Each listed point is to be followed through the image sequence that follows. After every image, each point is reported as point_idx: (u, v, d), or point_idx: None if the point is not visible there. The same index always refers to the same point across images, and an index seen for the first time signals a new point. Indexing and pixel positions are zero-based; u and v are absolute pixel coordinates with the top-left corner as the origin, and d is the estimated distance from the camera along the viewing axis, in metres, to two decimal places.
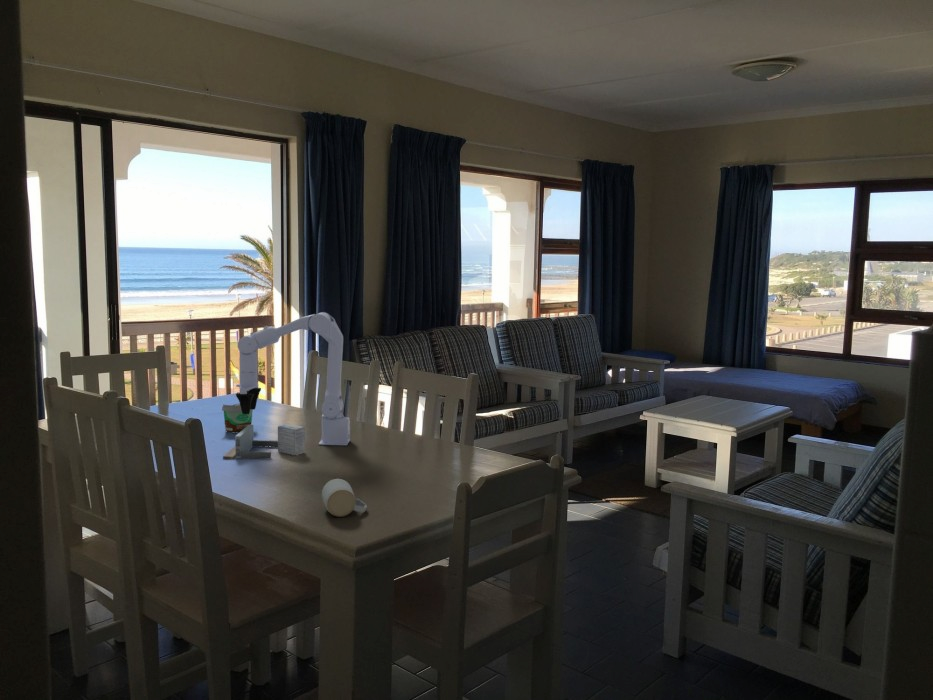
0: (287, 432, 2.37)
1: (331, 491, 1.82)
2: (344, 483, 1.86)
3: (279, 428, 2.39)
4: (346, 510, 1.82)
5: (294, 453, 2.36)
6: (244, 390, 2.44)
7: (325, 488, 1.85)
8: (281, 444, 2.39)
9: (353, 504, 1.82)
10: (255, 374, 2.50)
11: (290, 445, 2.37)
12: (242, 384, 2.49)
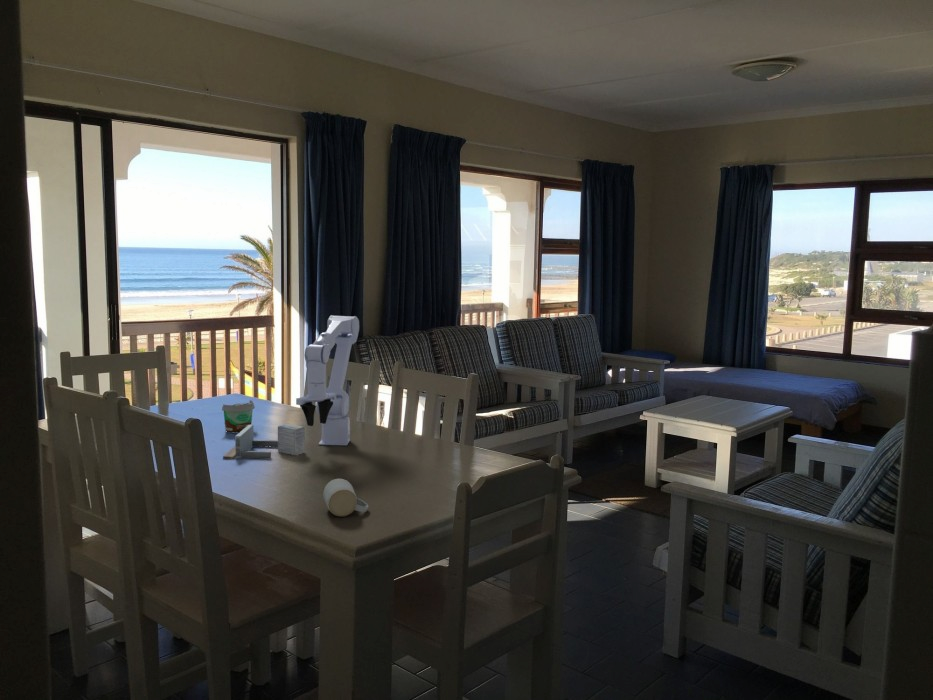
0: (287, 432, 2.37)
1: (333, 491, 1.82)
2: (346, 483, 1.86)
3: (279, 428, 2.39)
4: (347, 510, 1.82)
5: (294, 453, 2.36)
6: (299, 401, 2.32)
7: (327, 488, 1.85)
8: (281, 444, 2.39)
9: (355, 504, 1.83)
10: (318, 386, 2.35)
11: (290, 445, 2.37)
12: (307, 395, 2.37)
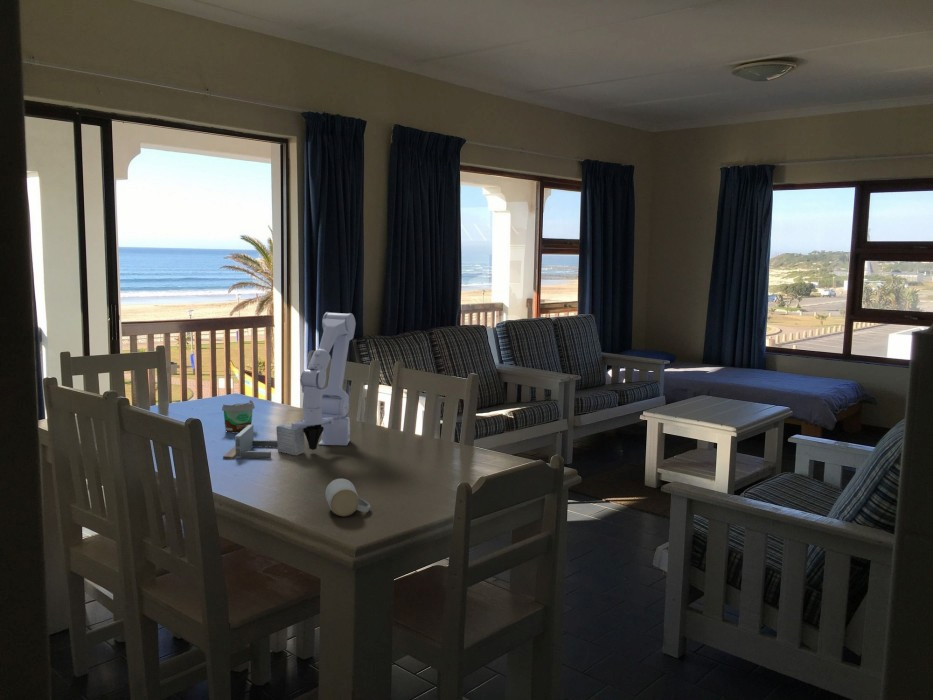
0: (286, 432, 2.37)
1: (335, 490, 1.82)
2: (347, 483, 1.86)
3: (278, 428, 2.38)
4: (349, 510, 1.82)
5: (294, 453, 2.36)
6: (293, 426, 2.34)
7: (329, 488, 1.86)
8: (281, 444, 2.39)
9: (356, 504, 1.83)
10: (314, 411, 2.36)
11: (289, 445, 2.37)
12: None
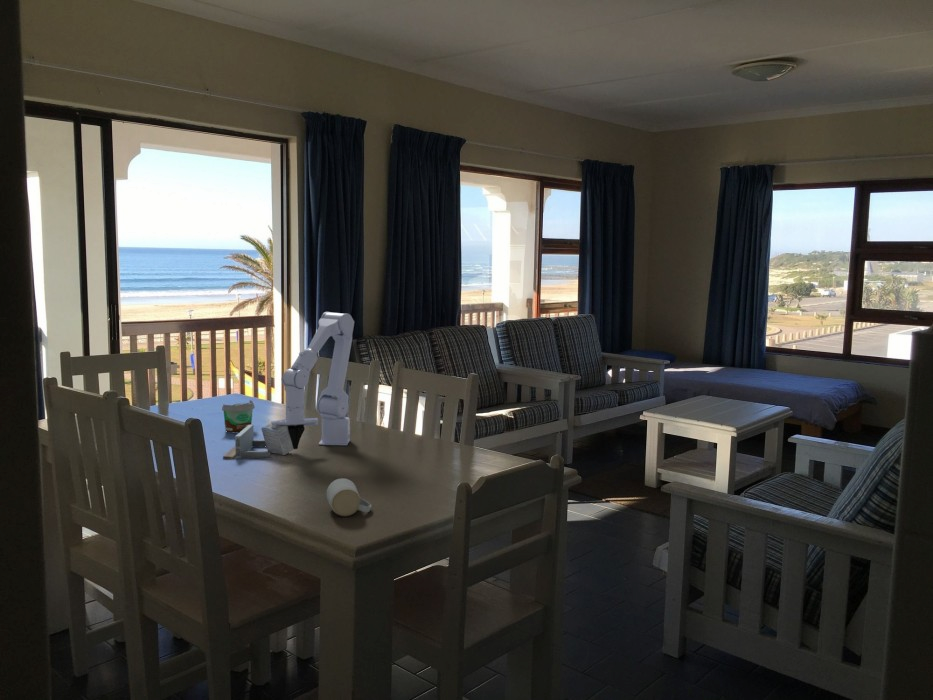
0: (271, 434, 2.35)
1: (336, 490, 1.82)
2: (349, 483, 1.86)
3: (263, 430, 2.37)
4: (351, 510, 1.82)
5: (282, 453, 2.36)
6: (272, 424, 2.35)
7: (330, 488, 1.86)
8: (269, 445, 2.38)
9: (358, 504, 1.83)
10: (293, 410, 2.36)
11: (276, 445, 2.36)
12: None
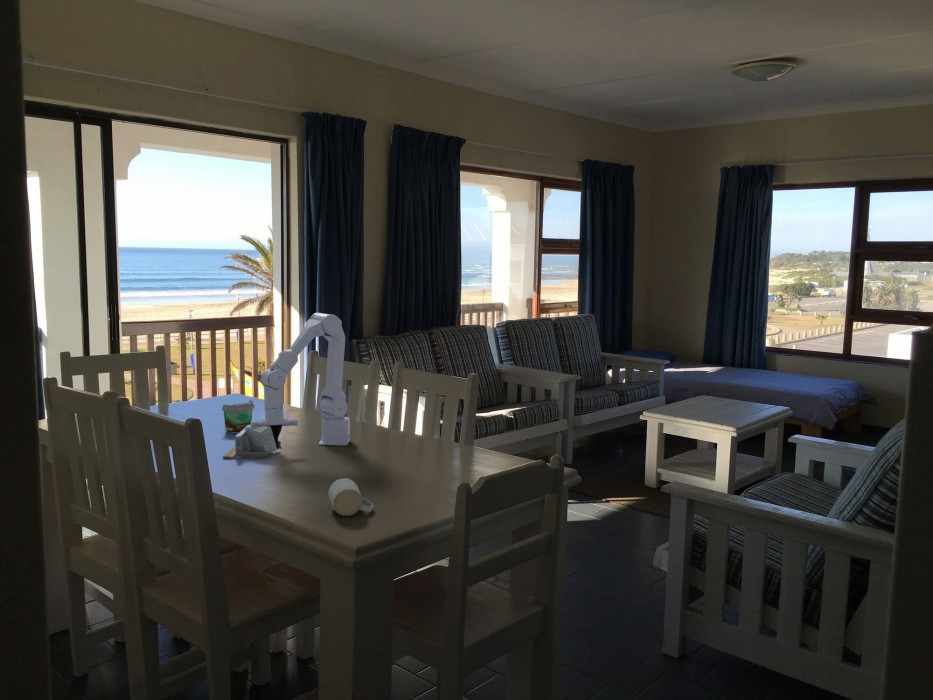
0: (254, 434, 2.35)
1: (338, 490, 1.82)
2: (351, 483, 1.86)
3: (246, 430, 2.36)
4: (352, 509, 1.83)
5: None
6: None
7: (332, 487, 1.86)
8: (252, 445, 2.38)
9: (360, 503, 1.83)
10: (269, 411, 2.36)
11: (259, 446, 2.35)
12: None
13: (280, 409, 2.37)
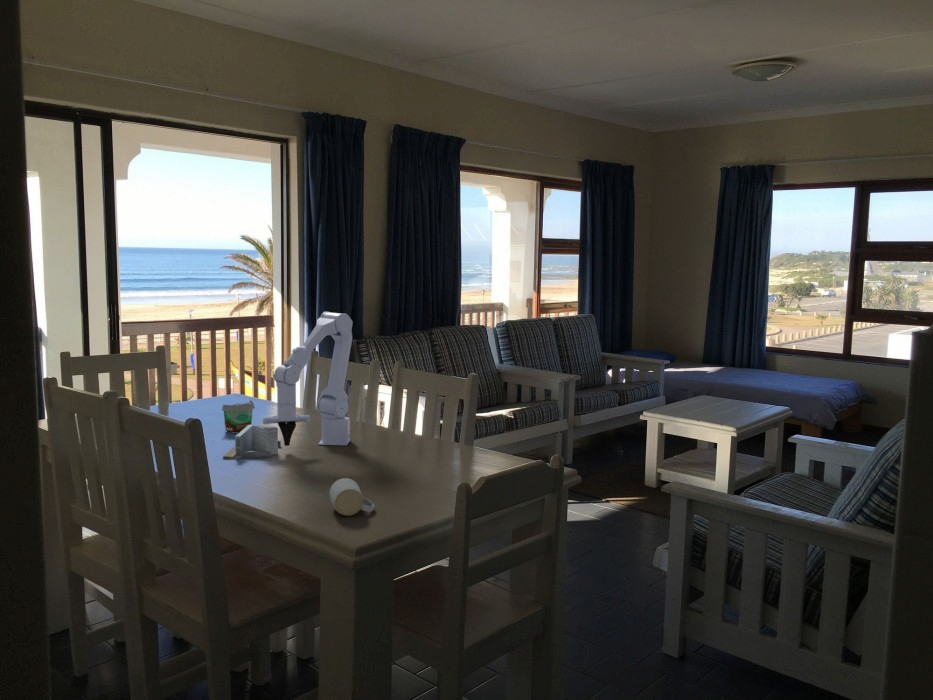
0: (260, 432, 2.36)
1: (339, 490, 1.82)
2: (352, 482, 1.87)
3: (253, 428, 2.38)
4: (353, 509, 1.83)
5: None
6: (263, 420, 2.36)
7: (333, 487, 1.86)
8: (255, 444, 2.38)
9: (361, 503, 1.83)
10: (283, 407, 2.35)
11: (262, 445, 2.36)
12: None
13: (294, 405, 2.37)
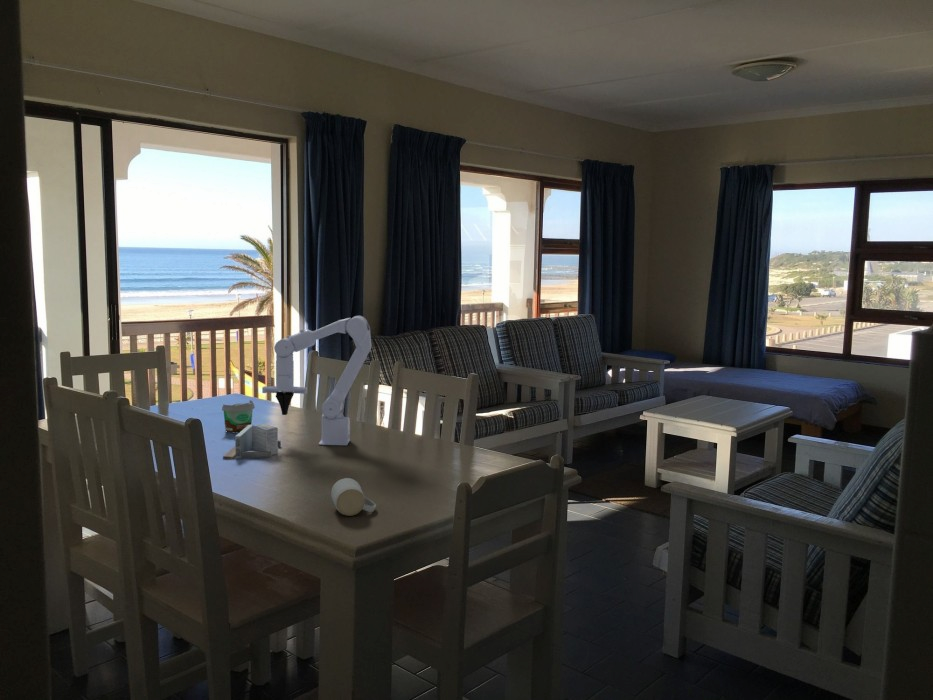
0: (260, 432, 2.36)
1: (341, 490, 1.83)
2: (353, 482, 1.87)
3: (253, 428, 2.38)
4: (355, 509, 1.83)
5: None
6: None
7: (335, 487, 1.86)
8: (255, 444, 2.38)
9: (362, 503, 1.83)
10: (279, 377, 2.49)
11: (262, 445, 2.36)
12: None
13: (289, 376, 2.49)
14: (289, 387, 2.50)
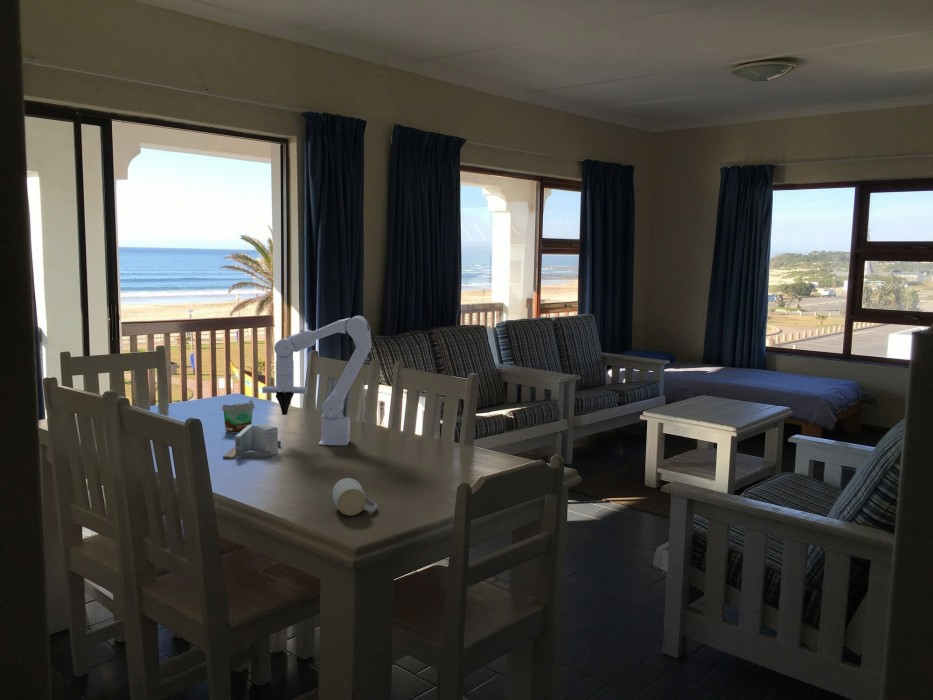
0: (260, 432, 2.36)
1: (342, 490, 1.83)
2: (354, 482, 1.87)
3: (253, 428, 2.38)
4: (356, 509, 1.83)
5: None
6: None
7: (336, 487, 1.86)
8: (255, 444, 2.38)
9: (363, 503, 1.83)
10: (279, 377, 2.49)
11: (262, 445, 2.36)
12: None
13: (289, 376, 2.49)
14: (289, 387, 2.50)
